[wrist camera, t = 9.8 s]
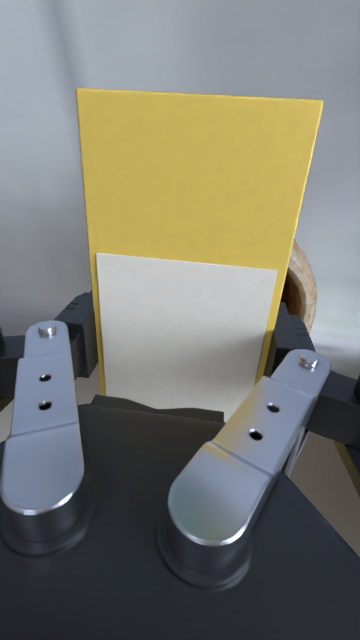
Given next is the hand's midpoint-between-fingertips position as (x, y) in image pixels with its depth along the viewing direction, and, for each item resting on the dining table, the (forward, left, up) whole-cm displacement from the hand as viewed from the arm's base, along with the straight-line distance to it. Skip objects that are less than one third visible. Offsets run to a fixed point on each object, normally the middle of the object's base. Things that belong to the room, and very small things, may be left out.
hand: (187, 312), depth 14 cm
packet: (0, 0, -1) cm, 1 cm away
